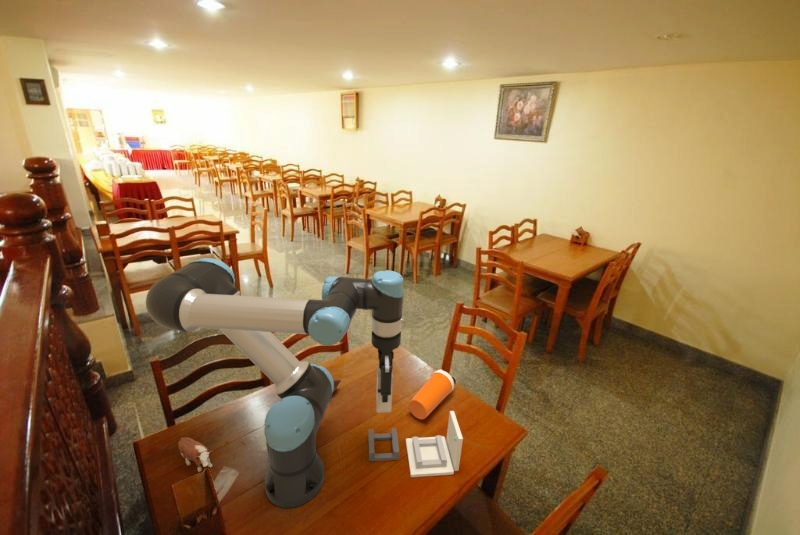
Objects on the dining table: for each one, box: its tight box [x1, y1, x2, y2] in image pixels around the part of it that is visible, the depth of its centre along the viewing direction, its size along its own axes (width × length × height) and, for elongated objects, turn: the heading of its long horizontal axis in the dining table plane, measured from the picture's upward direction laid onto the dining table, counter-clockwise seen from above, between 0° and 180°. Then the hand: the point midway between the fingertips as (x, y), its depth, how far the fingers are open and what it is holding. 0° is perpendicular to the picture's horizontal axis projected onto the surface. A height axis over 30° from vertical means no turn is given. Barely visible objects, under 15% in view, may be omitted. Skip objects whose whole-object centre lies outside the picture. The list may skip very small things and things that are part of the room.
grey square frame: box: [368, 427, 400, 462], centre depth 104 cm, size 8×8×3 cm
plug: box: [375, 367, 394, 414], centre depth 96 cm, size 4×4×14 cm
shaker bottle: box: [408, 369, 457, 420], centre depth 121 cm, size 9×9×20 cm
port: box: [405, 410, 464, 478], centre depth 100 cm, size 14×12×12 cm
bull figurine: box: [177, 436, 214, 473], centre depth 95 cm, size 4×13×8 cm, turn 58°
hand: (383, 402), depth 98 cm, fingers closed on plug, 4 cm apart
